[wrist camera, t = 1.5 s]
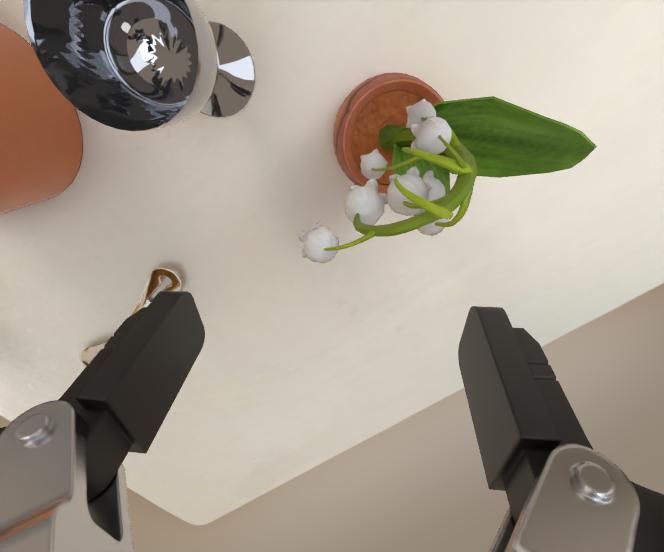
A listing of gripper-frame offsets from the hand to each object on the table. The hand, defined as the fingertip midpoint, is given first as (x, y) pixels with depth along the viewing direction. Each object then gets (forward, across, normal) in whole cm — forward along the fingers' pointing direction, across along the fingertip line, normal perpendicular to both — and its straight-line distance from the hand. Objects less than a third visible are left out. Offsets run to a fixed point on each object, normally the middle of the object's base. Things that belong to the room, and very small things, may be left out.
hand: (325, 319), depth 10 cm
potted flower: (+26, -2, +2) cm, 27 cm away
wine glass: (+26, +13, -4) cm, 29 cm away
